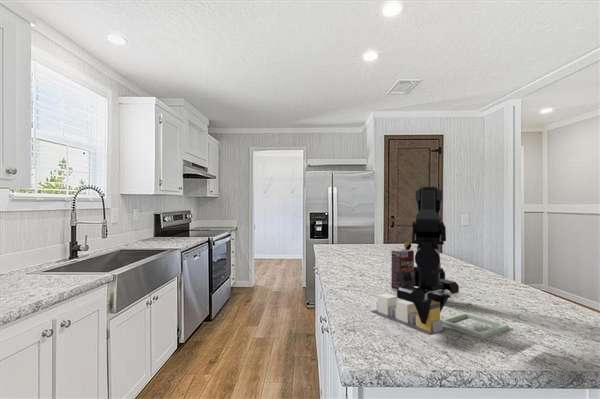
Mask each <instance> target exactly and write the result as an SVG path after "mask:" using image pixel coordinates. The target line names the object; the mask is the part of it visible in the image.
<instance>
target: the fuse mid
mask: <svg viewBox="0 0 600 399" xmlns="http://www.w3.org/2000/svg"><path fill="white" fill-rule="evenodd" d="M396 309H397V319H399V320H401V321H404V322H407V323H409V322H410V314H411V313H415V312H417V309H416V307H415V305H414V303H412V302H409V301H406V300H403V299H399V300H397V301H396Z"/></svg>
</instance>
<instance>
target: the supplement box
mask: <svg viewBox="0 0 600 399" xmlns="http://www.w3.org/2000/svg"><path fill="white" fill-rule="evenodd" d="M414 255H415V251H414V249H410V250H407V249H405V248H404V249H398V250H397V249H395V250H391V284H390V285H391V286H390V287H391V289H390V290H392V291H394V292H397V289H398V288H399V287H403V286H402V284H401V283H398V282H397V278H396V276H397V272H399V271H405V272H406V273H411V272H413V268H414V267H415V266H414V264H415V256H414ZM405 286H412V284H411V285H405ZM412 287H415V286H412Z"/></svg>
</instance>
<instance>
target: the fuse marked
mask: <svg viewBox="0 0 600 399" xmlns="http://www.w3.org/2000/svg"><path fill="white" fill-rule="evenodd" d="M428 300H430V299H428ZM440 319H441V312H440V302H437V301H434V300H431V305H430V309H429V314H428V318H427V321H426V324H423V323H421V320H420V318H419V315H418V327H420V328H422V329H425V330H427V331H430V332H431V331H433V322H434V321H438V320H440Z"/></svg>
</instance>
